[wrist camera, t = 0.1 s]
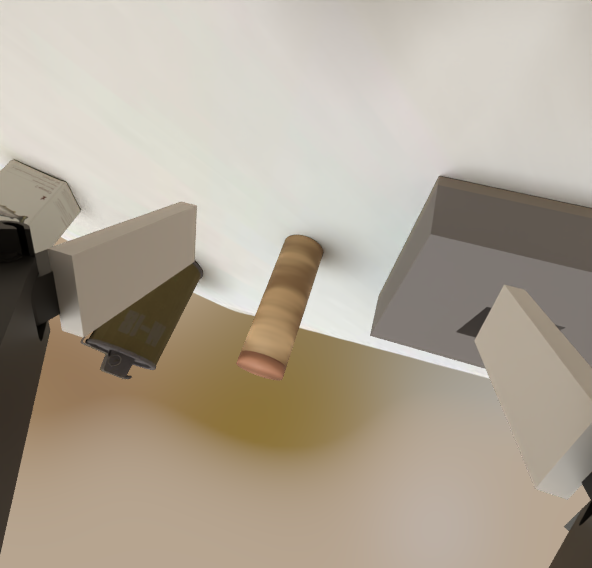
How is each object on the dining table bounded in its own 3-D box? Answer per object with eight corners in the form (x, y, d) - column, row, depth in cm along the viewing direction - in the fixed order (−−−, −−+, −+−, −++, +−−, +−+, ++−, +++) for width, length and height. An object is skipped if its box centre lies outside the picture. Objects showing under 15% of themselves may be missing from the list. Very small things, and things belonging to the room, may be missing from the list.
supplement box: (67, 181, 45) (2, 256, 39) (82, 211, 51) (28, 280, 46) (11, 156, 44) (-64, 230, 38) (33, 190, 50) (-28, 258, 45)
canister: (213, 270, 55) (155, 388, 46) (189, 282, 63) (136, 385, 54) (152, 233, 50) (74, 357, 41) (135, 251, 58) (66, 359, 49)
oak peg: (284, 230, 39) (232, 357, 32) (324, 241, 39) (281, 372, 32) (285, 253, 44) (240, 369, 37) (321, 263, 43) (283, 383, 36)
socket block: (439, 176, 27) (430, 234, 24) (754, 243, 24) (785, 318, 21) (378, 296, 46) (370, 335, 43) (546, 341, 43) (548, 386, 40)
